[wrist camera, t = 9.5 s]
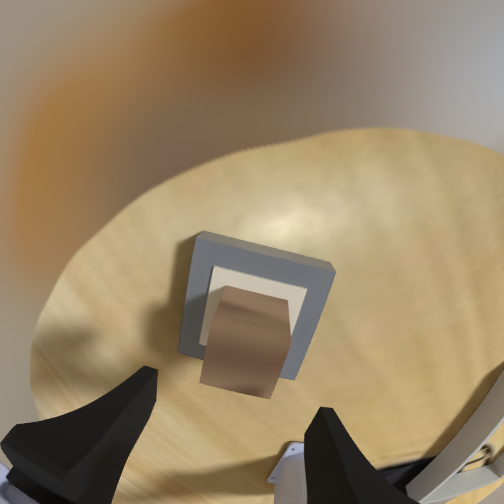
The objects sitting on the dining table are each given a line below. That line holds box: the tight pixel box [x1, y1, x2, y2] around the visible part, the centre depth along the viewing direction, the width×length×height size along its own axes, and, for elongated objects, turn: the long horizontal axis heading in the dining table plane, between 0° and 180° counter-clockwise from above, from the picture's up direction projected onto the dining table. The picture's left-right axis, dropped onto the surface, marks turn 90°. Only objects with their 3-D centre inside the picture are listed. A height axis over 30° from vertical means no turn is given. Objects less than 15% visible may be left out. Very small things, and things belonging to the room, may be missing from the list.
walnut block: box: [199, 285, 292, 399], centre depth 17 cm, size 4×4×5 cm
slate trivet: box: [178, 231, 336, 380], centre depth 20 cm, size 9×9×2 cm
